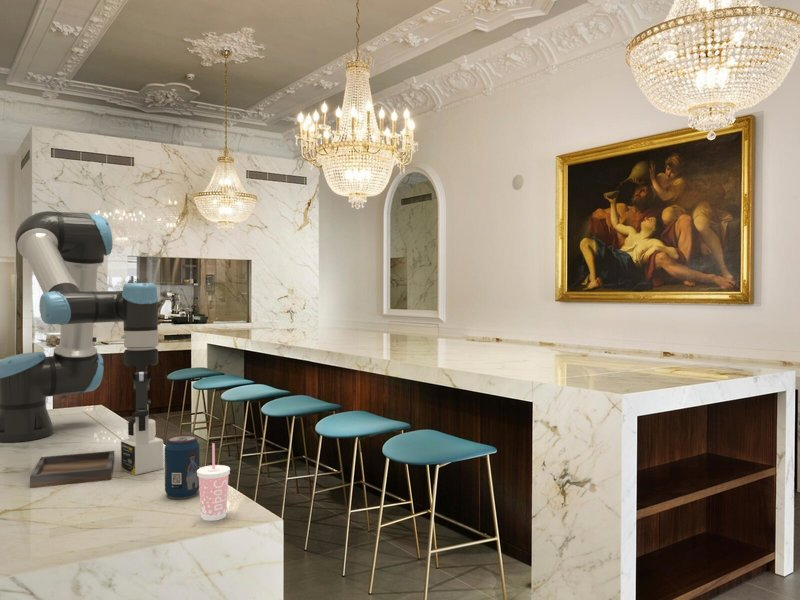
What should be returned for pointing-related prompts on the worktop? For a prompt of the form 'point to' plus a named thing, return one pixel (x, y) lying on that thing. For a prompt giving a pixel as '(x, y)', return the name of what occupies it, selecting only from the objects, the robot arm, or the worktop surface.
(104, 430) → the worktop surface
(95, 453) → the wooden tray
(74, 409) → the worktop surface
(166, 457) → the soda can
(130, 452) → the medicine bottle
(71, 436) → the worktop surface
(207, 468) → the beverage cup
